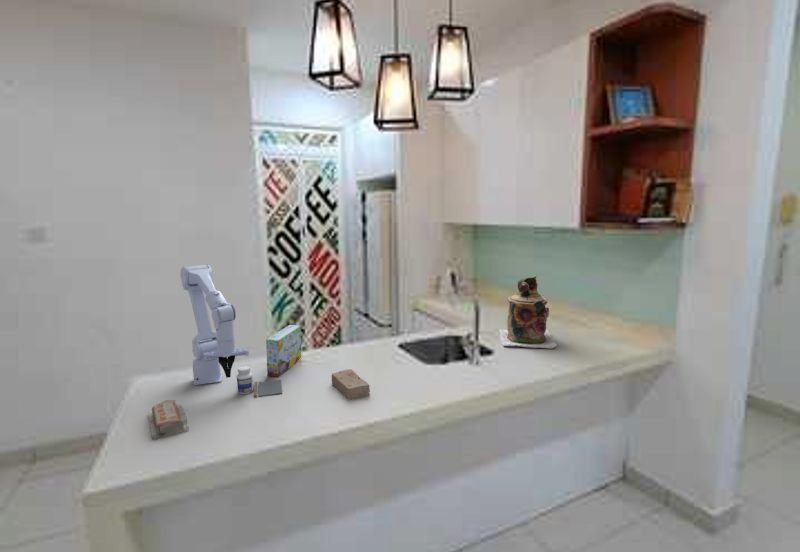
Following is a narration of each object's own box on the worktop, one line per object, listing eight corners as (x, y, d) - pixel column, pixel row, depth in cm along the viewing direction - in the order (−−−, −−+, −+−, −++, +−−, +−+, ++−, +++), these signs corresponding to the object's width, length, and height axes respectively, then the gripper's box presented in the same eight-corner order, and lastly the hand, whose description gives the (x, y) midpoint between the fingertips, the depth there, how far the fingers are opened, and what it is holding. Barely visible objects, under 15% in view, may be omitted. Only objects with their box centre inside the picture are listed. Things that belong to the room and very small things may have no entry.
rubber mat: (258, 396, 158) (258, 395, 158) (258, 383, 169) (258, 382, 169) (282, 393, 160) (282, 392, 160) (280, 380, 171) (280, 379, 171)
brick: (371, 395, 159) (371, 383, 158) (349, 401, 155) (349, 388, 154) (351, 379, 173) (350, 368, 172) (330, 384, 169) (330, 372, 168)
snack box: (280, 377, 175) (278, 340, 172) (266, 376, 176) (264, 339, 173) (302, 358, 195) (301, 324, 192) (290, 357, 196) (288, 323, 193)
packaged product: (188, 417, 135) (150, 426, 129) (190, 432, 135) (152, 441, 130) (180, 394, 150) (146, 402, 144) (182, 408, 150) (148, 416, 145)
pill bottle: (240, 388, 165) (238, 365, 163) (254, 388, 165) (253, 365, 163) (235, 394, 159) (234, 371, 158) (251, 394, 160) (249, 370, 158)
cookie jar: (498, 331, 231) (500, 270, 226) (548, 333, 228) (551, 271, 222) (502, 347, 207) (505, 279, 202) (557, 350, 204) (562, 280, 198)
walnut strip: (254, 397, 157) (254, 395, 157) (254, 383, 169) (254, 381, 169) (257, 397, 158) (257, 394, 158) (257, 383, 169) (257, 381, 169)
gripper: (201, 345, 151) (204, 383, 154) (247, 340, 155) (249, 378, 158) (204, 338, 158) (207, 375, 160) (247, 334, 162) (250, 370, 164)
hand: (228, 376), depth 159 cm, fingers closed
